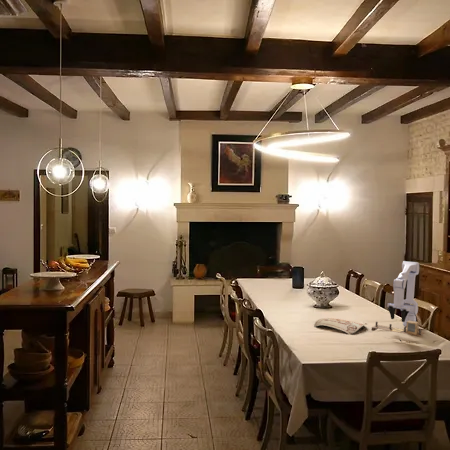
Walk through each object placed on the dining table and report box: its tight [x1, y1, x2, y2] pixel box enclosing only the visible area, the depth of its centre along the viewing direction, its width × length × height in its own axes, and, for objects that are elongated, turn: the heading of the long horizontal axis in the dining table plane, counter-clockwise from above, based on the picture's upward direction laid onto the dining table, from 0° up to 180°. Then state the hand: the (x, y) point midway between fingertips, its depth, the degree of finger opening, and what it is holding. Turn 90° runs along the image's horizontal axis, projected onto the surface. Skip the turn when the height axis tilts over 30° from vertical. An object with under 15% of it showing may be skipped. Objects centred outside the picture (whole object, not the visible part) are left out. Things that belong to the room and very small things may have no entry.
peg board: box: [371, 321, 425, 337], centre depth 323 cm, size 10×30×4 cm, turn 52°
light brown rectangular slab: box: [406, 321, 420, 334], centre depth 317 cm, size 4×6×7 cm
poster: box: [313, 317, 368, 336], centre depth 334 cm, size 28×6×30 cm
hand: (397, 320), depth 314 cm, fingers open, 7 cm apart
